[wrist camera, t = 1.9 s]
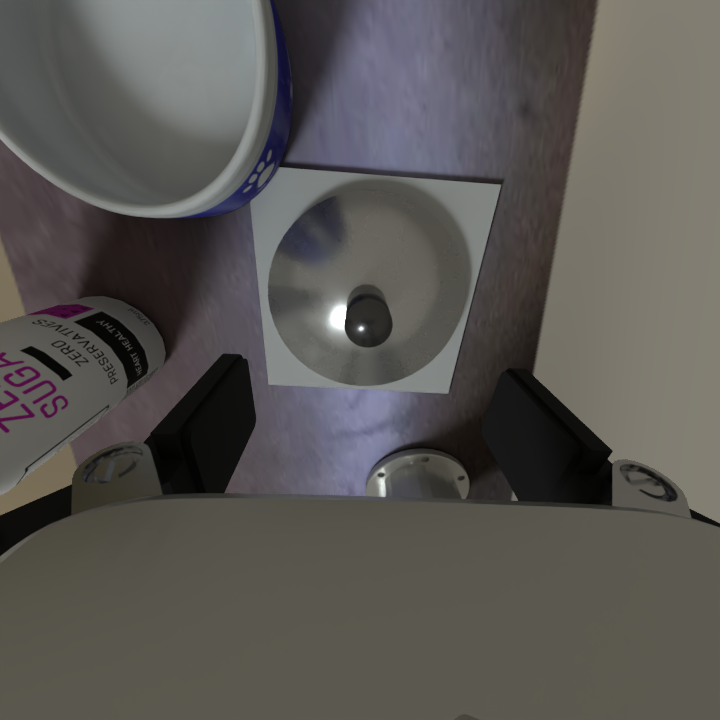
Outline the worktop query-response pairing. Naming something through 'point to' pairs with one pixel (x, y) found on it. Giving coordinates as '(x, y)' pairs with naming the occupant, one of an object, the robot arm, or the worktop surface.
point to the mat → (440, 197)
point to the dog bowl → (147, 100)
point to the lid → (366, 288)
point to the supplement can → (67, 375)
